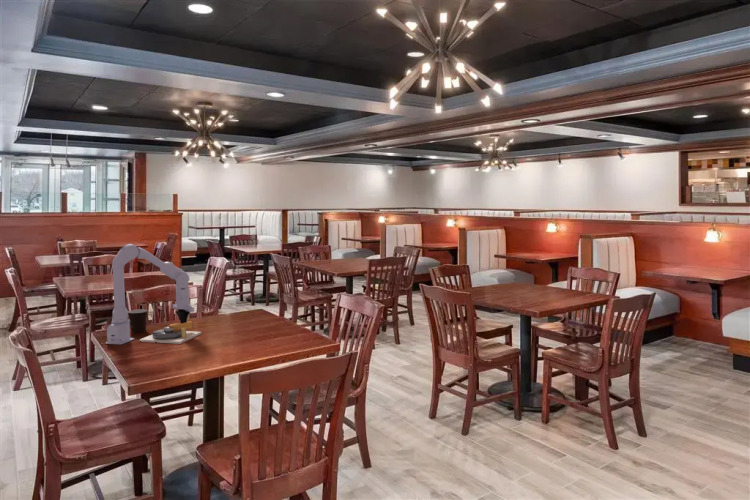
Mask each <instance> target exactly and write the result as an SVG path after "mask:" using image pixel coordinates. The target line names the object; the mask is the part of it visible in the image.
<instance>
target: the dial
mask: <svg viewBox="0 0 750 500" xmlns="http://www.w3.org/2000/svg"><path fill="white" fill-rule="evenodd" d="M182 328H186V330H187V329H193V321H189V320H188V321H187V322H183V323H180V322H179V323H172V324H169V325H168V326H165V327H163V328H162V329H156V330H154V331H153V332H152V334H151V335H152V336H153V338H157V339H170V338H177V337H181V336H182Z"/></svg>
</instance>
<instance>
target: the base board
mask: <svg viewBox="0 0 750 500" xmlns="http://www.w3.org/2000/svg"><path fill="white" fill-rule="evenodd" d="M200 335H202V331H190V330H187V329H186V328H182V336H181V337H177V338H170V339H157V338H153V336H152V334H151V335H148V336H145V337H142V338H140V339H139V342H140V341H141V342H140V343H155V342H157V344H173V345H174V344H175V345H177V344H178V345H181V344H183V343H185V342H188V341H189V340H191V339H194V338H196V337H198V336H200Z"/></svg>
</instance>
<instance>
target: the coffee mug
mask: <svg viewBox="0 0 750 500" xmlns="http://www.w3.org/2000/svg"><path fill="white" fill-rule="evenodd" d="M128 319H129V323H130V333H132V332H134V333H133V334H139V333H138V332H142V333H145V332H147V323H148V322H147V321H148V309H142V308H141V309H132V310H128ZM144 331H145V332H144Z"/></svg>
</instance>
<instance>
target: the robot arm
mask: <svg viewBox="0 0 750 500" xmlns="http://www.w3.org/2000/svg"><path fill="white" fill-rule="evenodd" d="M136 258H137V259H139V260H141V259H142V260H145V261H147V262H149V263H151V264H152V265H154V266H155V267H158V268H159V270H160V272H161V273H162V274H164V275H165V276H167V277H168V278H170V279H171V280H175V282H176V283H175V294H176V295H175V300H176V303H175V304H174V303H172V305H171V306H172V309H173V310H174V309H175V310H176V311H175V313H176V314H177V316H178V319H179V323H183V322H188V321H187V320H188V318H189V315H190V313H193V312H195V307H193V306H192V305H191V304H190V288H189V287H190V286H189V281H190V276H189V275H188V273H187V272H186V271H185V270H183V268H179V267H178V266H176V265H175V264H174V263H173V262H172V261H162V260H161V259H160V258H158V257H156V255H154V254H152V253H151V252H149V251H148V250H147V249H144V248H142V247H140V246H136V244H134V243H126V244H125V245H124V246H122V247H121V248H120V249H119V251H118V252H117V254H116V255H115V257H114V258H113V260H112V262H111V263H112V282H113V283H112V285H113V301H114V302H113V306H114V307H113V309H112V312H111V313H112V316H111V317H112V320H111V323H110V325H109V326H108V327H107V328H106V340H107V341H106V342H105V344H107V345H124V344H126V343H129V342H131V341H133V340H135V337H131V327H130V321H129V315H128V311H129V310H128V308H127V307H126V294H125V293H126V290H125V271H124V269H125V265H126V264H127V263H129V261H132V260H134V259H136Z"/></svg>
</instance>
